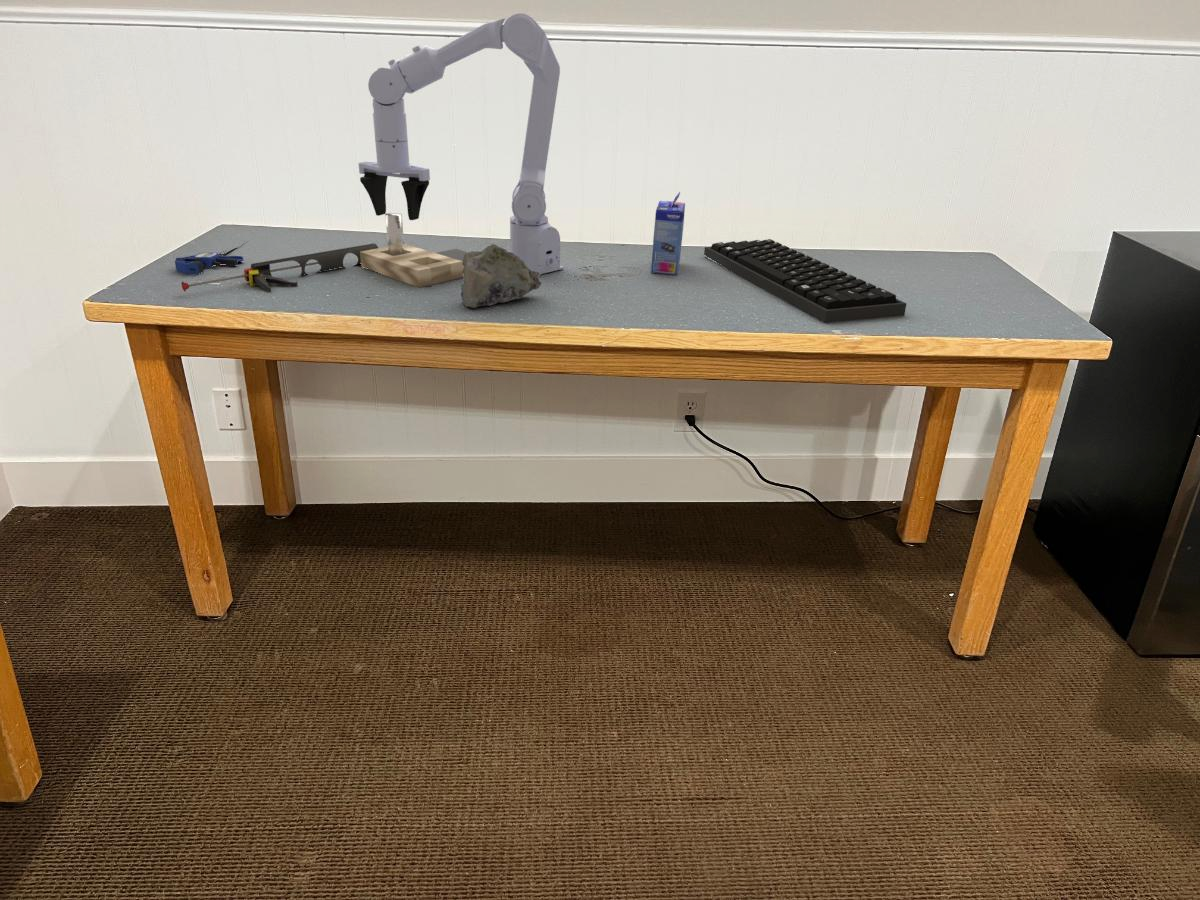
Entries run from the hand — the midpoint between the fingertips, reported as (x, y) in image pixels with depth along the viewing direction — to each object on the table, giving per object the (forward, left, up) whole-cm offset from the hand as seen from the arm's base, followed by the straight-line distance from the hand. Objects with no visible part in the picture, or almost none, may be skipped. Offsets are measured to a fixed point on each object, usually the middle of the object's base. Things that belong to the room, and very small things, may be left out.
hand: (397, 216), depth 162 cm
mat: (-2, -11, -9) cm, 15 cm away
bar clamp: (+30, +19, -10) cm, 37 cm away
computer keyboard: (-58, -48, -10) cm, 76 cm away
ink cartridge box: (-35, -38, -10) cm, 52 cm away
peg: (0, +1, -9) cm, 9 cm away
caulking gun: (+5, +20, -10) cm, 23 cm away
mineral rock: (-30, +1, -10) cm, 32 cm away
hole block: (-5, +1, -9) cm, 11 cm away
